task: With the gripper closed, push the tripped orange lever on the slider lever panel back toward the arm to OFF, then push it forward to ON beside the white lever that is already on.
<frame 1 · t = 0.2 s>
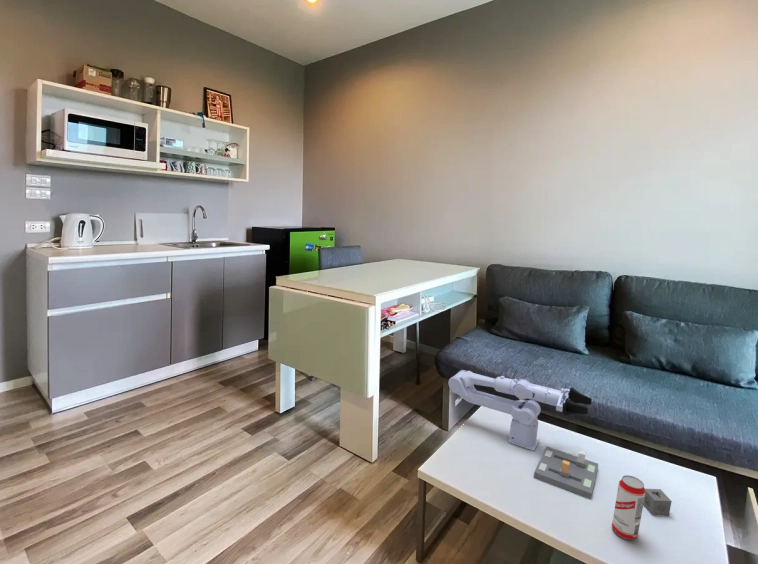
hand: (589, 406, 139), 22 cm above the table, tool horizontal, fingers open, 7 cm apart
dice cube: (654, 509, 122), on the table
beer can: (624, 533, 113), on the table
white lever: (581, 458, 138), point 4 cm above the table, slide at 3.5 cm
orange lever: (565, 468, 133), point 4 cm above the table, slide at 0.0 cm
slider lever panel: (566, 473, 137), on the table
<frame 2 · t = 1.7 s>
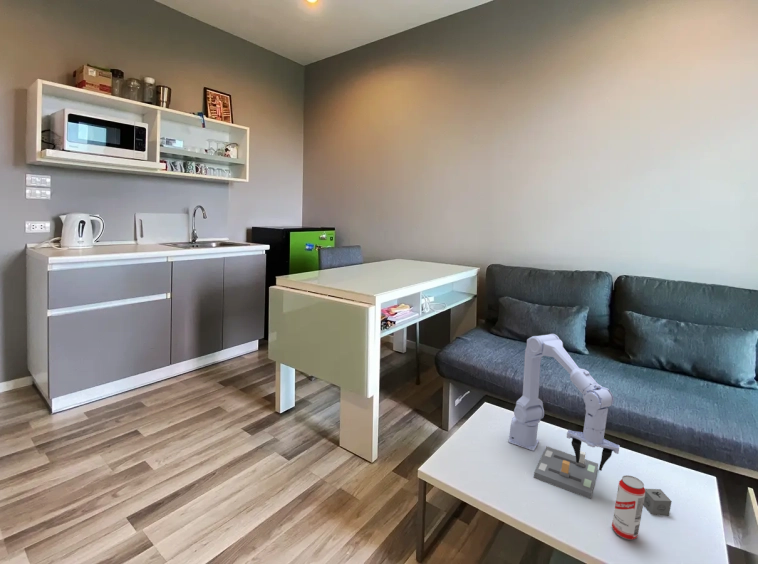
hand: (588, 465, 128), 8 cm above the table, tool pointing down, fingers open, 6 cm apart
nothing on the table moved.
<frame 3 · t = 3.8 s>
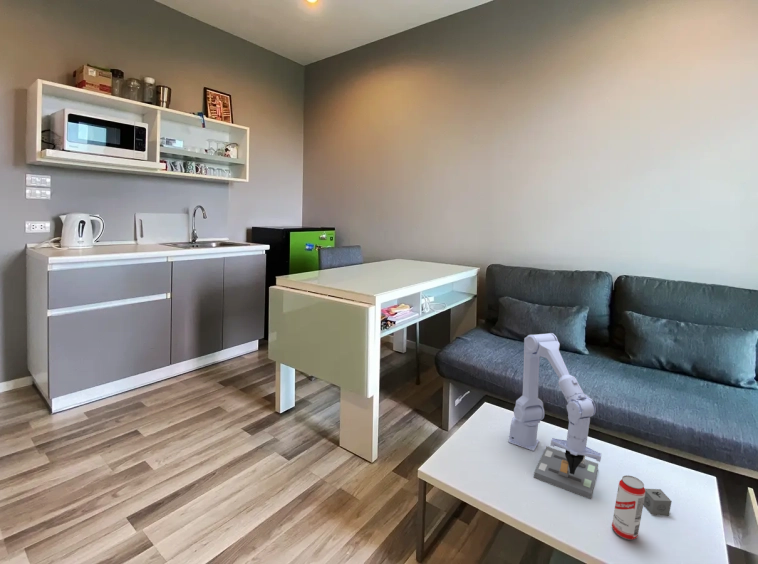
hand: (572, 472, 132), 4 cm above the table, tool pointing down, fingers closed
orange lever: (564, 468, 133), point 4 cm above the table, slide at -0.3 cm, touching gripper
everything else where it was.
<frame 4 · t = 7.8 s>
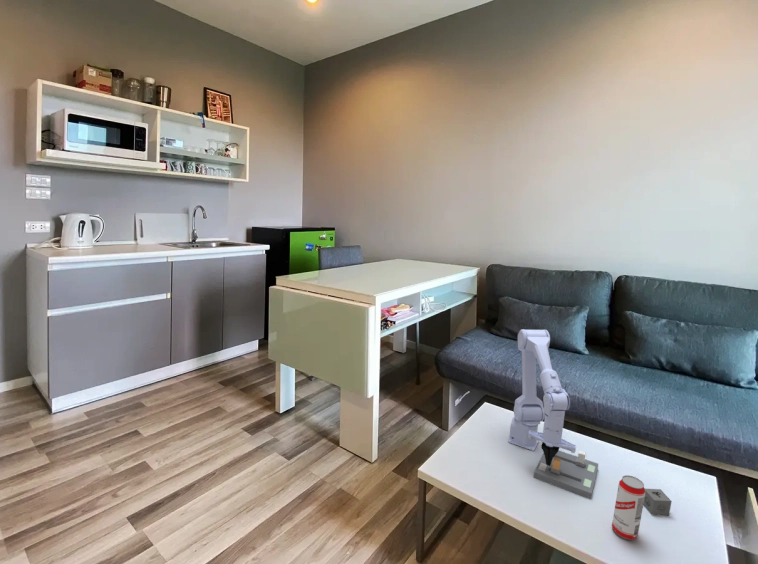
hand: (548, 463, 135), 4 cm above the table, tool pointing down, fingers closed
orange lever: (556, 465, 134), point 4 cm above the table, slide at -2.7 cm, touching gripper
everything else where it was.
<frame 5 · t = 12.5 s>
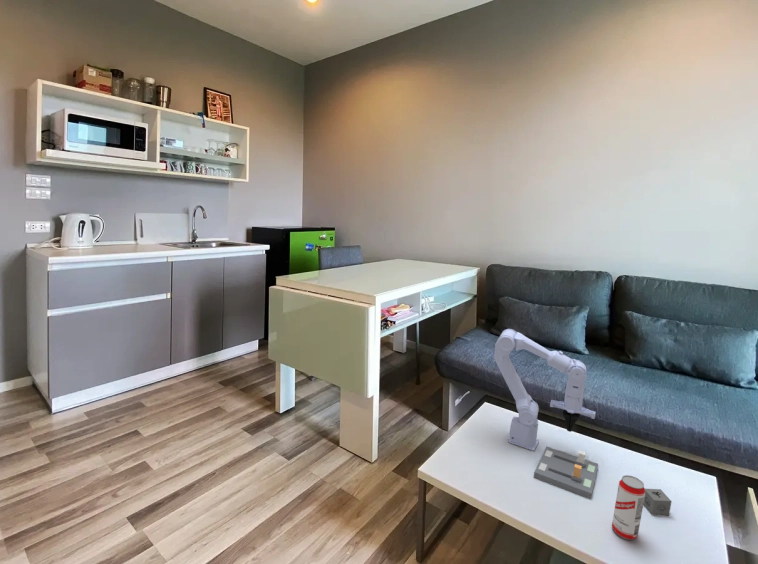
hand: (569, 430, 146), 9 cm above the table, tool pointing down, fingers closed
orange lever: (577, 472, 131), point 4 cm above the table, slide at 3.6 cm
everything else where it was.
at the end: orange lever slide at 3.6 cm; white lever slide at 3.5 cm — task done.
